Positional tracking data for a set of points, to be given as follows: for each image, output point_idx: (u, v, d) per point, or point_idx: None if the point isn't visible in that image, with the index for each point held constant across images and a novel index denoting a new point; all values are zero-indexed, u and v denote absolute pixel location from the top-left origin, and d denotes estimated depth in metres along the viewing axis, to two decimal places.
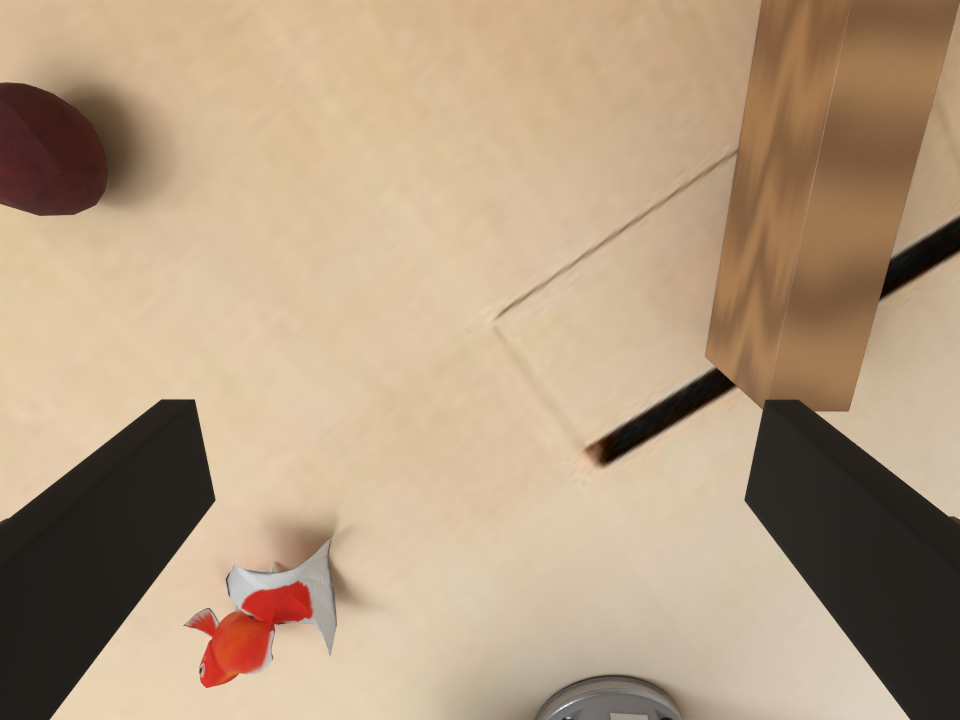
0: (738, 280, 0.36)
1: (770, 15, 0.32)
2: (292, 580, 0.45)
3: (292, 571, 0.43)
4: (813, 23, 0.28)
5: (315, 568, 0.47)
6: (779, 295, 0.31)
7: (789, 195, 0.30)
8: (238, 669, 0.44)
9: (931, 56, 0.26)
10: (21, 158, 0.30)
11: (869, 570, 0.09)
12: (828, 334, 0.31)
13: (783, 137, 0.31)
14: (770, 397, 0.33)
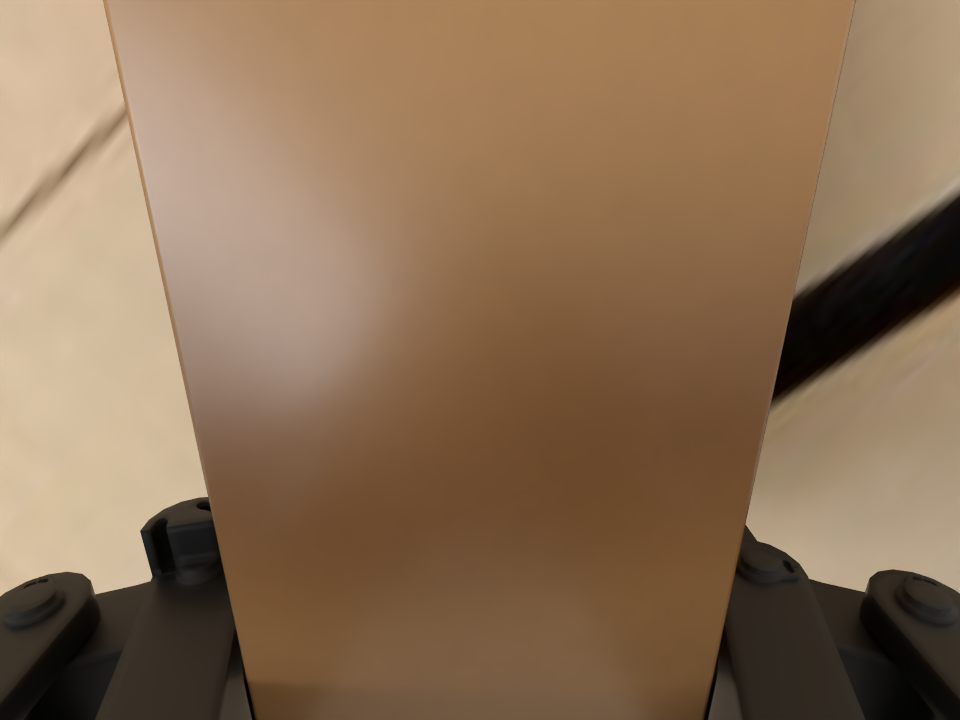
0: None
1: None
2: None
3: None
4: None
5: None
6: None
7: None
8: None
9: None
10: None
11: None
12: (498, 654, 0.06)
13: None
14: None
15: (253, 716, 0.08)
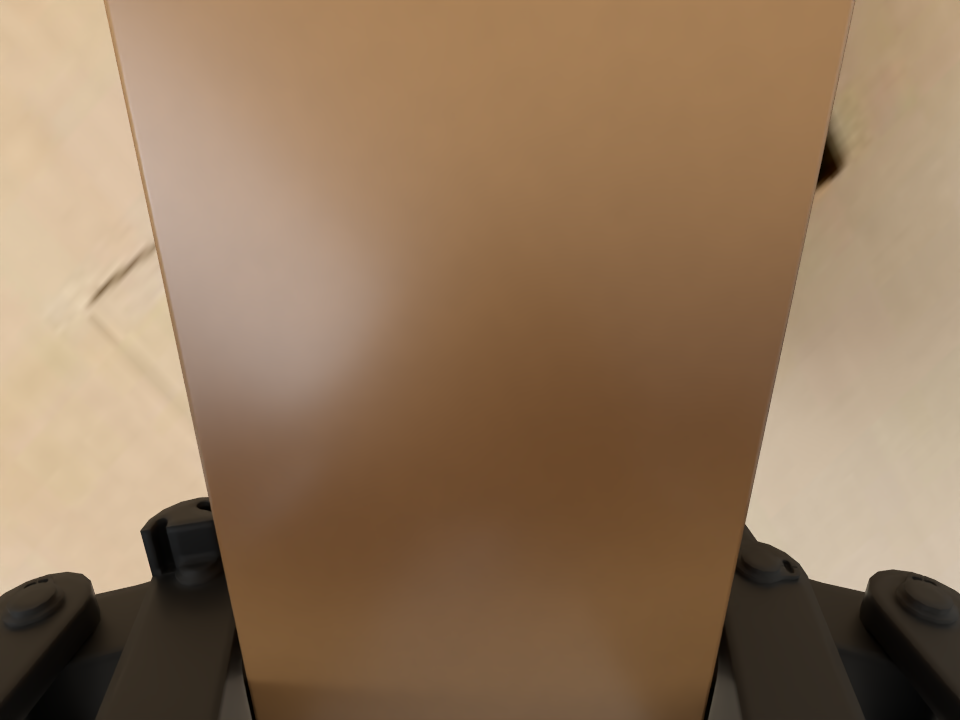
0: None
1: None
2: None
3: None
4: None
5: None
6: None
7: None
8: None
9: None
10: None
11: None
12: (498, 652, 0.06)
13: None
14: None
15: (253, 716, 0.08)
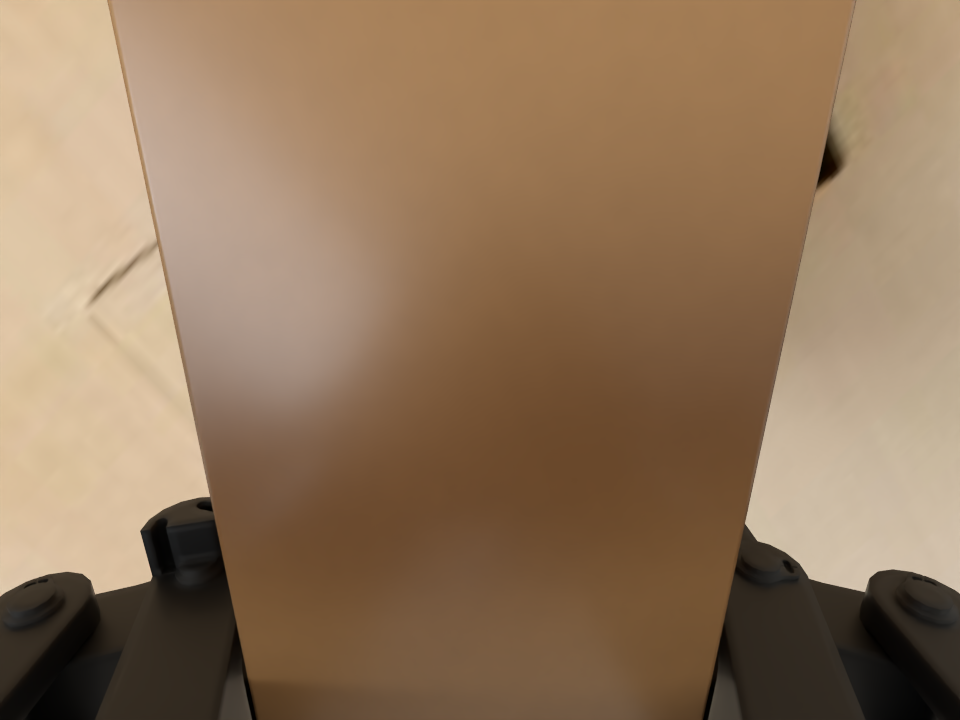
0: None
1: None
2: None
3: None
4: None
5: None
6: None
7: None
8: None
9: None
10: None
11: None
12: (499, 650, 0.06)
13: None
14: None
15: (253, 716, 0.08)
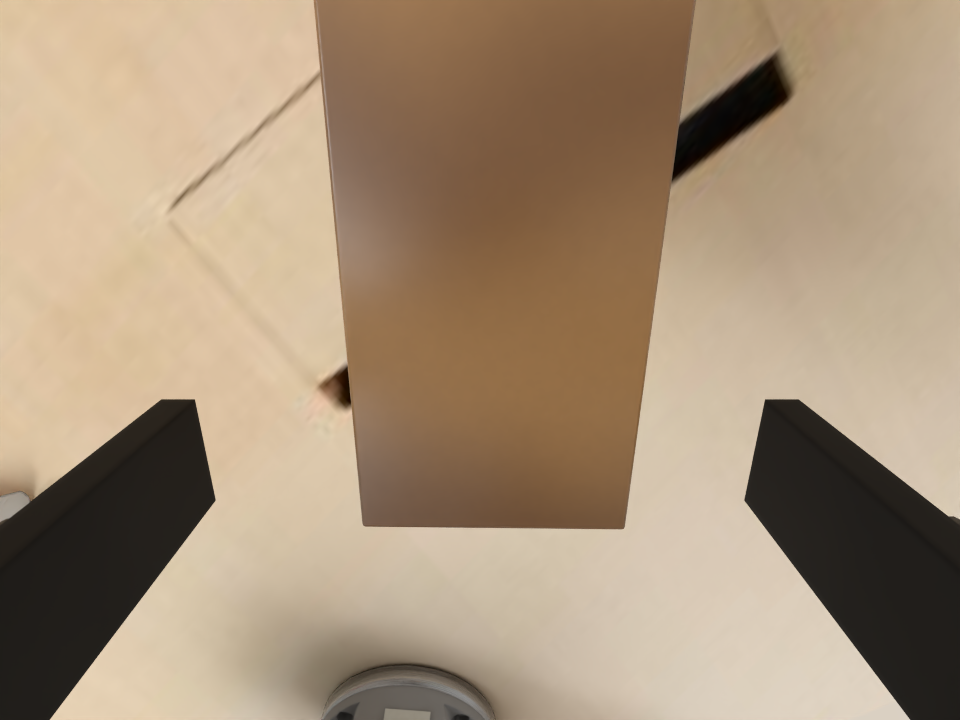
0: None
1: None
2: None
3: None
4: None
5: None
6: None
7: None
8: None
9: None
10: None
11: (869, 570, 0.09)
12: (511, 284, 0.09)
13: None
14: (367, 488, 0.10)
15: None
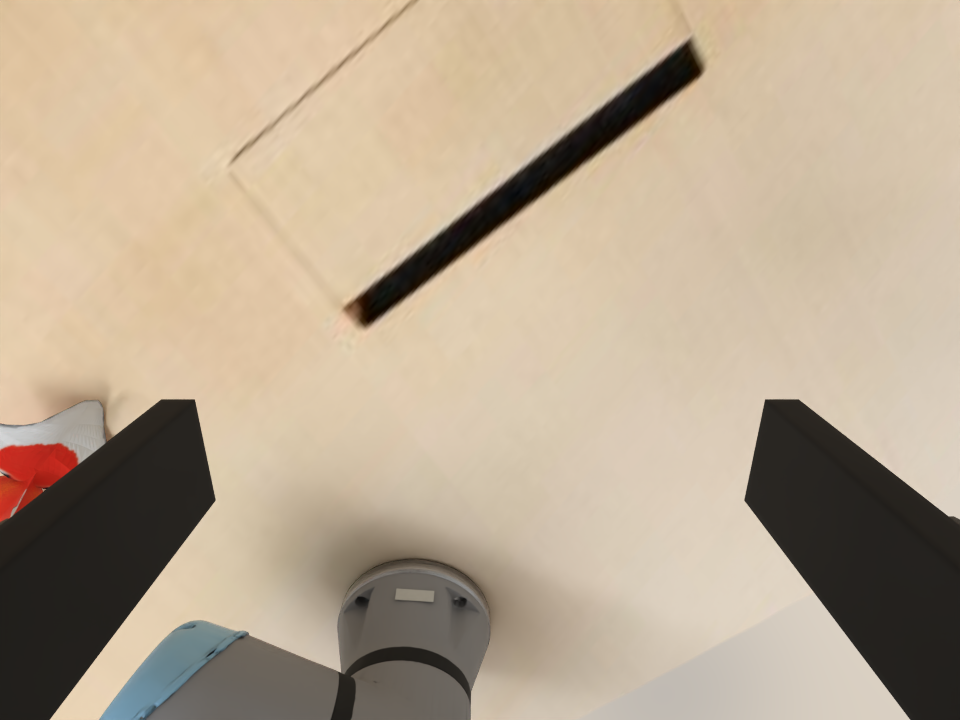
0: None
1: None
2: (49, 439, 0.44)
3: (42, 426, 0.43)
4: None
5: (85, 435, 0.47)
6: None
7: None
8: None
9: None
10: None
11: (870, 571, 0.09)
12: None
13: None
14: None
15: None
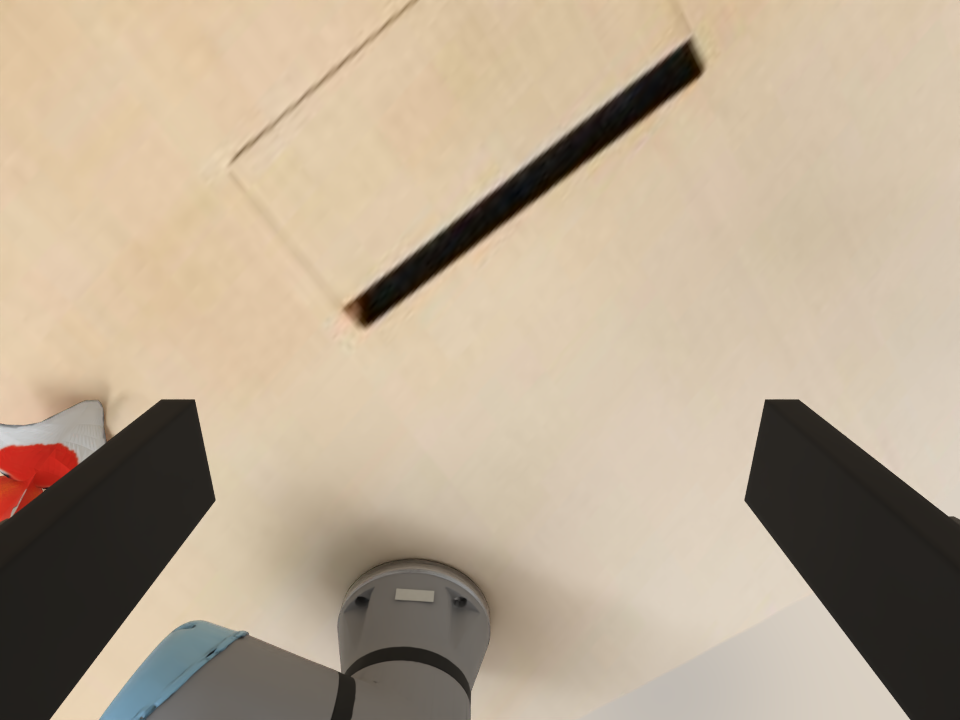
0: None
1: None
2: (49, 439, 0.44)
3: (42, 426, 0.43)
4: None
5: (85, 435, 0.47)
6: None
7: None
8: None
9: None
10: None
11: (870, 571, 0.09)
12: None
13: None
14: None
15: None
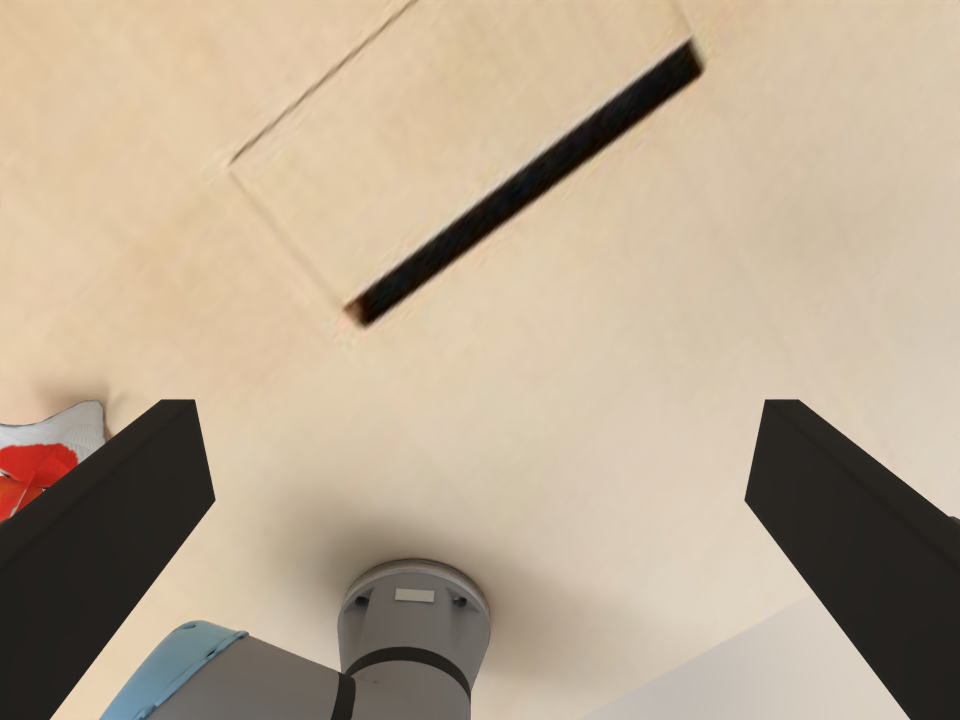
0: None
1: None
2: (49, 439, 0.44)
3: (42, 426, 0.43)
4: None
5: (85, 435, 0.47)
6: None
7: None
8: None
9: None
10: None
11: (870, 571, 0.09)
12: None
13: None
14: None
15: None
